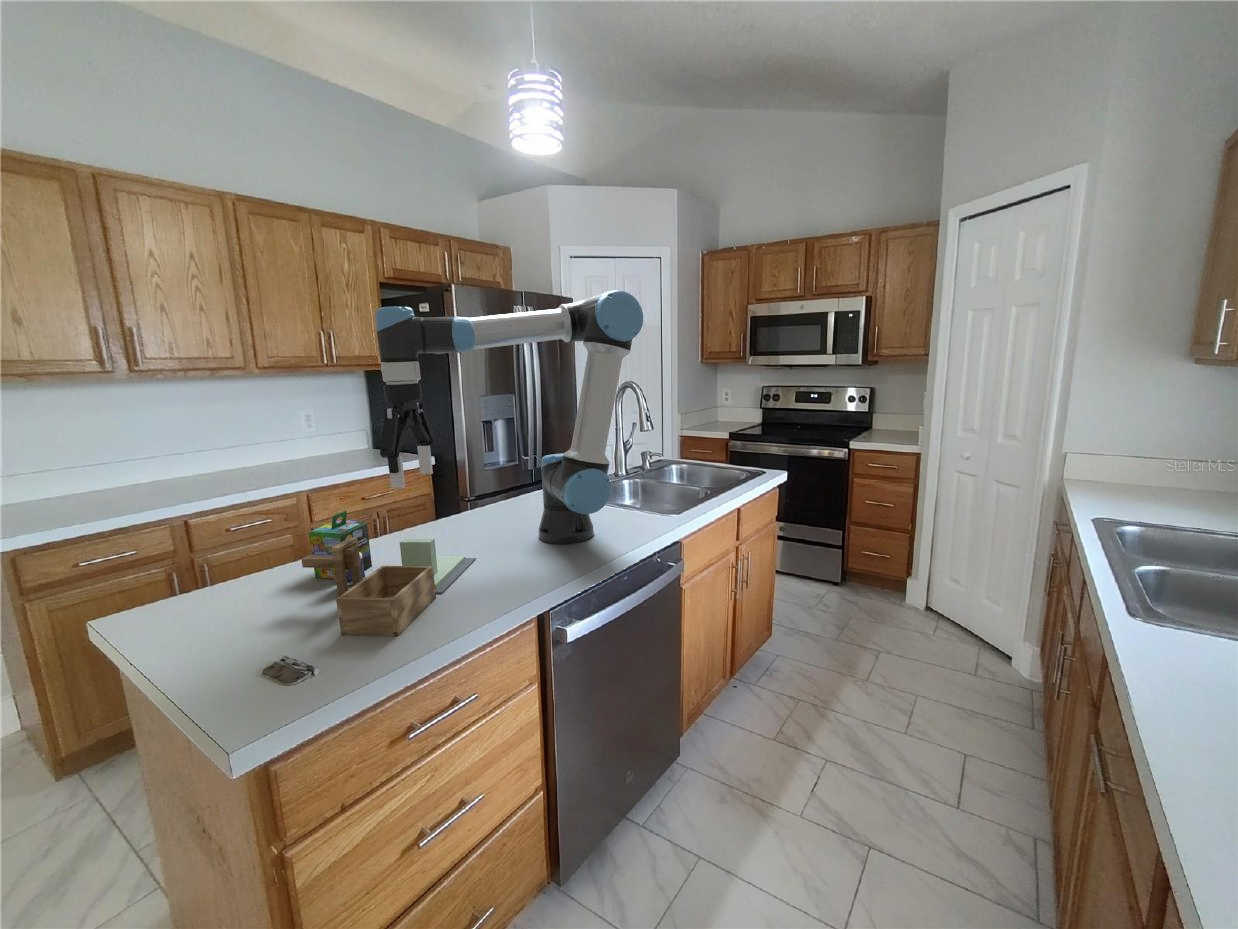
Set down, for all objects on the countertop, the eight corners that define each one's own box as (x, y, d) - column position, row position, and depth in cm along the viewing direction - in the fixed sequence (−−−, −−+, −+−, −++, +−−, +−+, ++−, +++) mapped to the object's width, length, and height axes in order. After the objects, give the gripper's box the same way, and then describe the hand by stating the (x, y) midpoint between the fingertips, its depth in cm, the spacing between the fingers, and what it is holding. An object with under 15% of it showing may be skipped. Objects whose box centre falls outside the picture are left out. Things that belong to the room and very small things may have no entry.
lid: (436, 588, 119) (432, 549, 117) (383, 588, 120) (378, 548, 118) (465, 560, 135) (462, 524, 133) (418, 559, 136) (415, 524, 135)
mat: (475, 559, 136) (475, 558, 136) (442, 593, 117) (442, 592, 117) (414, 558, 138) (414, 557, 138) (371, 592, 119) (370, 590, 119)
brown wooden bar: (354, 568, 110) (351, 550, 109) (302, 567, 111) (299, 549, 110) (360, 563, 112) (358, 545, 111) (310, 563, 113) (307, 545, 113)
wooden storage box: (398, 636, 99) (390, 566, 97) (311, 634, 101) (300, 565, 99) (436, 597, 115) (429, 536, 112) (360, 596, 117) (352, 536, 114)
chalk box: (341, 564, 136) (333, 506, 133) (373, 566, 134) (366, 507, 131) (313, 578, 127) (304, 517, 125) (347, 581, 125) (339, 518, 122)
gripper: (412, 380, 129) (421, 468, 134) (352, 387, 105) (366, 494, 109) (442, 379, 129) (451, 468, 133) (389, 385, 104) (402, 494, 108)
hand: (413, 480), depth 121 cm, fingers open, 13 cm apart
